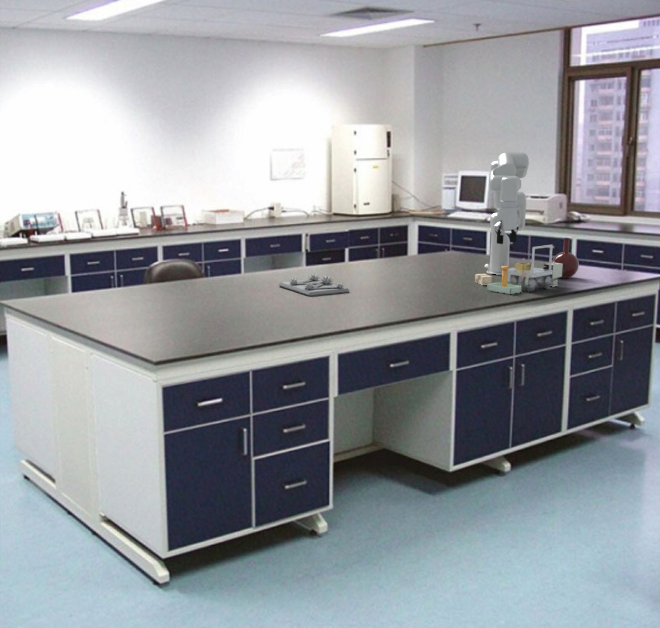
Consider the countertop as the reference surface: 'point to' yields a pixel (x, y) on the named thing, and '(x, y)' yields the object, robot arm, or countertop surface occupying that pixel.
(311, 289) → the decorative plate
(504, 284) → the pin
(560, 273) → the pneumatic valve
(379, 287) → the countertop surface
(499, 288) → the tray
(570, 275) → the round-bottom flask
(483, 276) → the block
